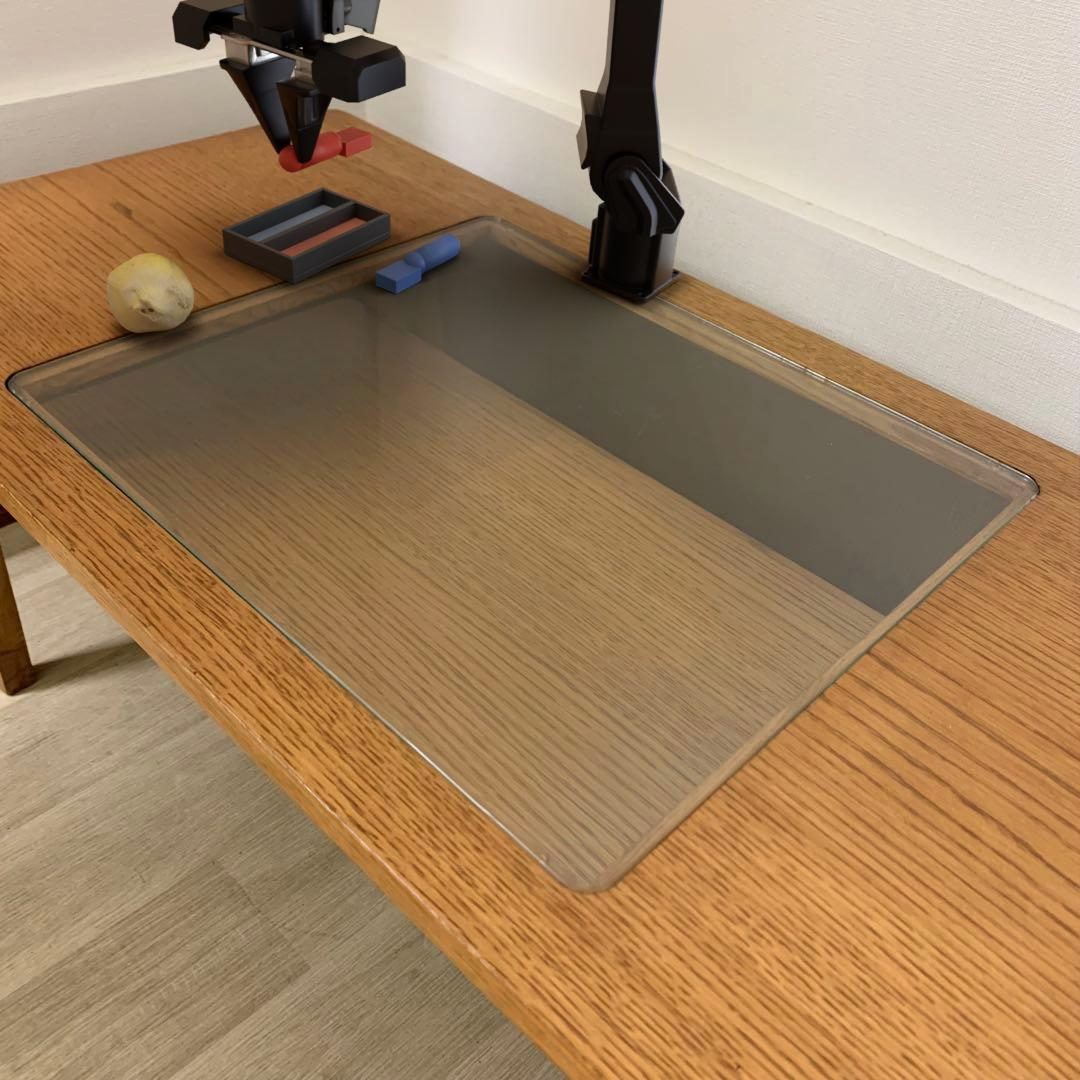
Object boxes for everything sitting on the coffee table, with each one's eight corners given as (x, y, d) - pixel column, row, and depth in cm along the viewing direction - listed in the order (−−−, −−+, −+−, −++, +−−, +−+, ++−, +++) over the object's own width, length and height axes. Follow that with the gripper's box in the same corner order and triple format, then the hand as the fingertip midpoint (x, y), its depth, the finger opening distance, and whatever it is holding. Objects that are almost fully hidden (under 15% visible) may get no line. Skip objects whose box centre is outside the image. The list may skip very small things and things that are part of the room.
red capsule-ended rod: (293, 179, 88) (291, 154, 87) (273, 171, 89) (271, 146, 88) (372, 147, 94) (371, 123, 93) (352, 140, 95) (351, 116, 94)
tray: (390, 237, 100) (390, 213, 98) (293, 284, 92) (292, 259, 90) (323, 210, 103) (322, 186, 101) (224, 253, 95) (221, 229, 94)
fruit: (191, 284, 91) (212, 328, 83) (120, 314, 90) (135, 361, 82) (158, 217, 87) (177, 257, 79) (84, 247, 86) (95, 291, 78)
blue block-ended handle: (445, 248, 99) (446, 227, 97) (465, 256, 98) (466, 235, 97) (375, 285, 93) (375, 263, 91) (396, 294, 92) (396, 271, 91)
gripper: (456, -51, 81) (451, 163, 91) (268, -100, 88) (282, 102, 98) (349, -24, 73) (356, 205, 83) (154, -81, 81) (182, 136, 91)
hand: (294, 158), depth 89 cm, fingers closed on red capsule-ended rod, 2 cm apart
